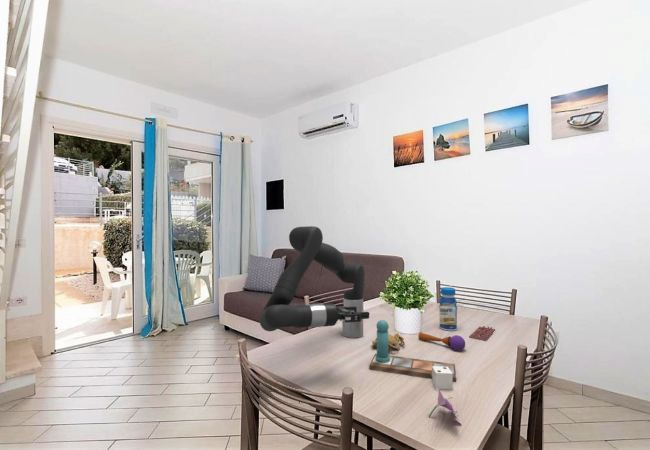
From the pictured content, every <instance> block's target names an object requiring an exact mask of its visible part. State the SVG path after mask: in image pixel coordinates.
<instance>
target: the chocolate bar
mask: <svg viewBox="0 0 650 450" xmlns="http://www.w3.org/2000/svg"><path fill="white" fill-rule="evenodd" d="M494 331H495V332H496V328H493V327H492V326H491V327H490V326H487V327H486V325H483V326H478V327H477V328H476V329H475V330H474V331H473V332H472V333H471V334H470V335H469V336H468V337H469V339H474V340H479V341H483V342H487V341H488V340H489V339H490V338H491V337H492V335H493V334H494V333H495V332H494ZM493 332H494V333H493Z"/></svg>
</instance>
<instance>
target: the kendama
mask: <svg viewBox="0 0 650 450" xmlns="http://www.w3.org/2000/svg"><path fill="white" fill-rule="evenodd" d="M417 339H418V340H419V341H430V342H442V343H443V344H445V345H446V347H448V348H449V347H451V348H452V349H453V350H454V351H458V352H459V351H460V352H461V351H462V350H464V349H465V347H466V341H465V339H464V338H463V337H462V336H460V335H458V334H457V335H453V336H450V335H449V336H446V337H443V338H441V337H437V336H434V335H430V334H428V333H424V332H419V333H418V338H417Z"/></svg>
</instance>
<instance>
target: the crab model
mask: <svg viewBox="0 0 650 450" xmlns="http://www.w3.org/2000/svg"><path fill="white" fill-rule="evenodd" d="M404 340H405V339H404V337H403V336H401V335H400V334H399V333H398V332H397V333H395V334H394V335H392V334H388V347H391V348H393V349H397V351H400V350H401V346H405V345H406V342H405V341H404ZM399 343H400V344H399ZM372 345H373V346H374V347H377V337H376V338H375V339H374V340H373V339H372Z"/></svg>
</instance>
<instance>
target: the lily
mask: <svg viewBox="0 0 650 450" xmlns="http://www.w3.org/2000/svg"><path fill="white" fill-rule="evenodd" d="M431 375H432V374H431ZM433 378H434V377H433ZM434 379H435V378H434ZM435 381H436V380H435ZM436 382H437V381H436ZM437 384H438V383H437ZM438 388H439V389H438ZM438 388H437V389H436V390H437V391H438V394H437V395H438V397H437V404H436V405H435V406H434V407H433V409H432V411H431V412H430V414H429V415H428V417H429V418H431V417H432V414H433V413H434V411H435V410H436V409H437V407H439V406H440V407H443V408H445V409H447V410H449V411H450V412H451V413H452V414H453V415H454V416H455V417H456V419H457V420H458V422H459V423H461V421H460V419H459V417H458V413H457V409H456V408H455V406H454V405H453V402H451V399H453V397H450V395H448V397H446V396H445V395H444V393H443V392H442V389H440V387H439V385H438Z"/></svg>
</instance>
